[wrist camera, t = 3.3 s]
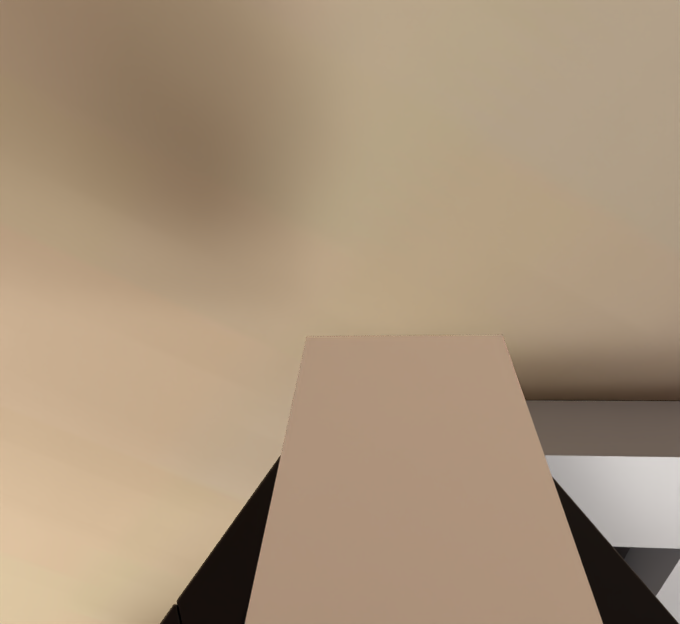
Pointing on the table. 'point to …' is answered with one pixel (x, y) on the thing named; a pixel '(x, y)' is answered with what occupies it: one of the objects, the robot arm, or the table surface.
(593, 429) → the socket plate
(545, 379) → the table surface
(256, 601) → the plug
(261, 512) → the robot arm
